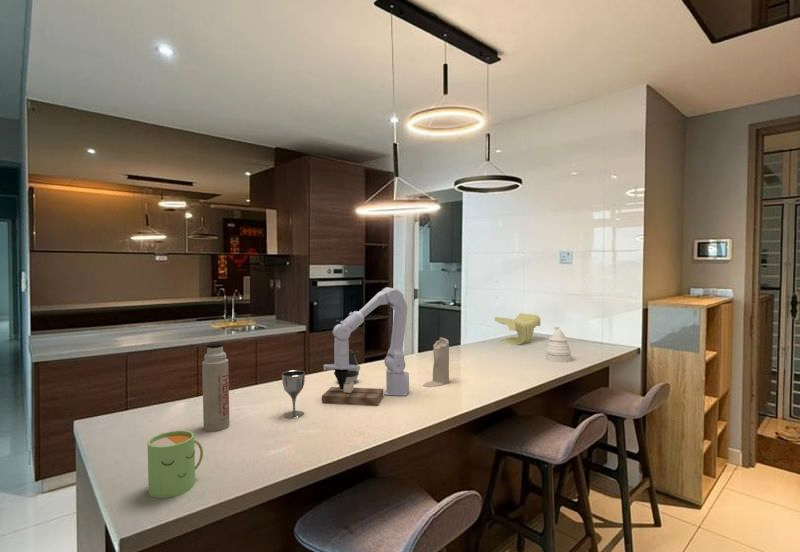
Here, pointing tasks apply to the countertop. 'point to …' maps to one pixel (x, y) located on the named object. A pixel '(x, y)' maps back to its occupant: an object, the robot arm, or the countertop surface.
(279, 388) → the countertop surface
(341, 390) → the fader console
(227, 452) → the countertop surface
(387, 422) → the countertop surface
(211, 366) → the thermos bottle
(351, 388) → the fader tab
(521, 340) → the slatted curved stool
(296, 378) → the silver metal goblet
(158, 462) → the mug
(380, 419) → the countertop surface
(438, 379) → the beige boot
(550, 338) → the honey pot
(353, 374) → the pump dispenser
